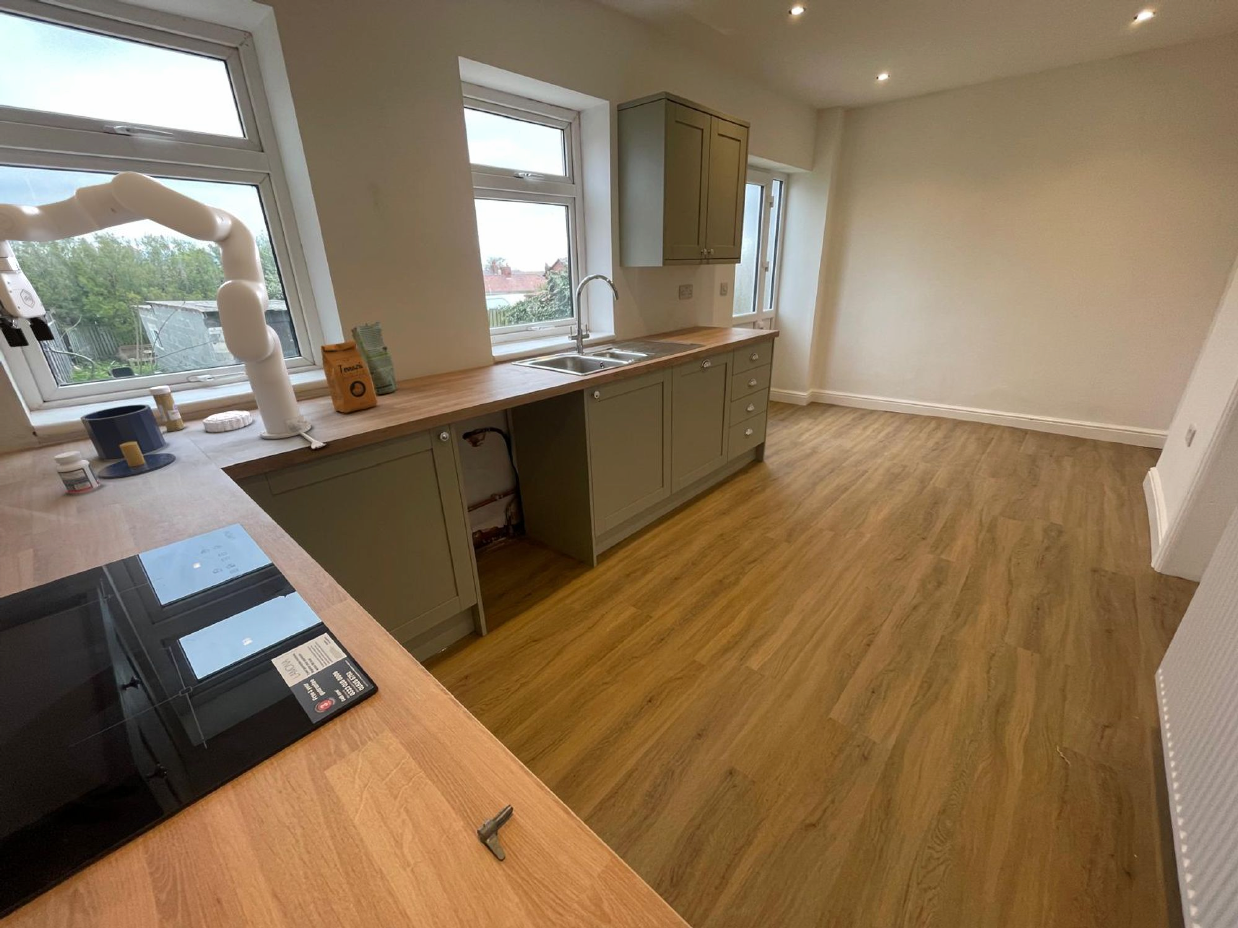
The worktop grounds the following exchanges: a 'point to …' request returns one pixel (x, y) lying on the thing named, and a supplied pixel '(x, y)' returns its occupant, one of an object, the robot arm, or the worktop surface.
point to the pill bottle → (76, 472)
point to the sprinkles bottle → (167, 408)
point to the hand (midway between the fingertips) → (33, 343)
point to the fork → (313, 441)
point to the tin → (123, 430)
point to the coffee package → (347, 377)
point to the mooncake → (227, 421)
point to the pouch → (375, 357)
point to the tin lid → (135, 462)
